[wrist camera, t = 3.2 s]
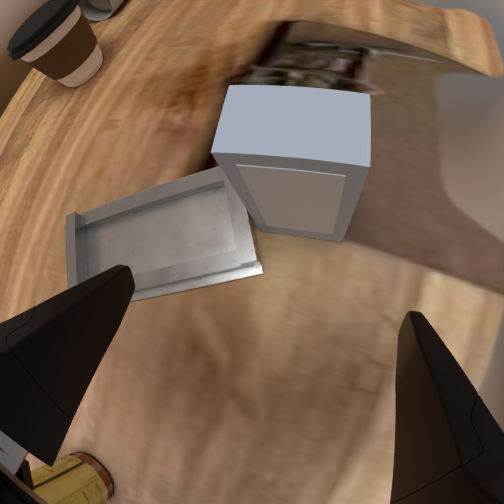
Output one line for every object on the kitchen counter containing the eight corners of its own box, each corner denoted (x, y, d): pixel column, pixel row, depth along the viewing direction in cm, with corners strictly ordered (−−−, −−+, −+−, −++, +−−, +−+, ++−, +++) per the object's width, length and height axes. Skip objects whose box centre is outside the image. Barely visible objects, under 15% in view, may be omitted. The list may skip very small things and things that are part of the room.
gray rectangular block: (341, 242, 22) (369, 168, 10) (260, 232, 23) (210, 153, 12) (346, 196, 22) (369, 93, 11) (268, 187, 24) (229, 84, 12)
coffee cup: (89, 42, 34) (50, -5, 23) (133, 44, 31) (90, -18, 20) (45, 97, 33) (-5, 54, 22) (81, 107, 30) (21, 52, 19)
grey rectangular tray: (240, 162, 25) (234, 150, 23) (263, 273, 22) (258, 269, 20) (79, 216, 27) (66, 209, 25) (85, 310, 25) (69, 309, 23)
